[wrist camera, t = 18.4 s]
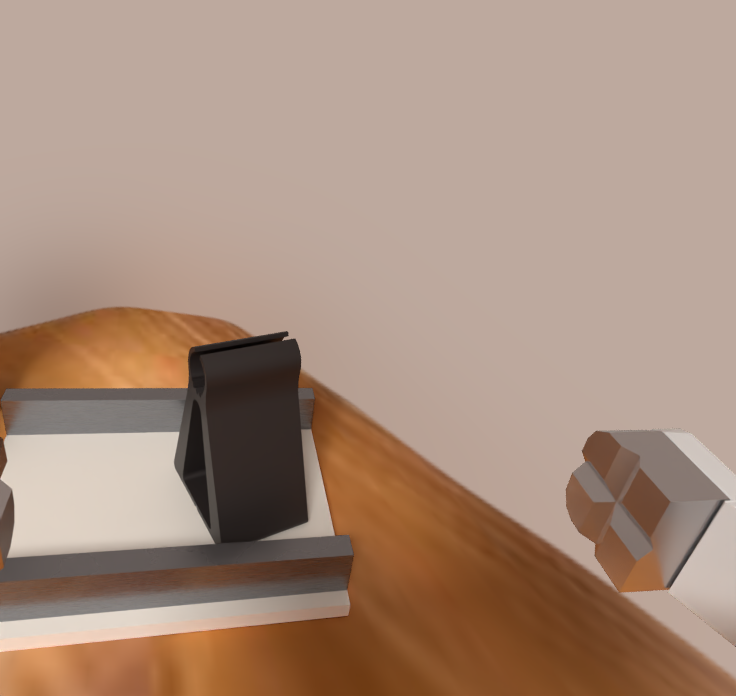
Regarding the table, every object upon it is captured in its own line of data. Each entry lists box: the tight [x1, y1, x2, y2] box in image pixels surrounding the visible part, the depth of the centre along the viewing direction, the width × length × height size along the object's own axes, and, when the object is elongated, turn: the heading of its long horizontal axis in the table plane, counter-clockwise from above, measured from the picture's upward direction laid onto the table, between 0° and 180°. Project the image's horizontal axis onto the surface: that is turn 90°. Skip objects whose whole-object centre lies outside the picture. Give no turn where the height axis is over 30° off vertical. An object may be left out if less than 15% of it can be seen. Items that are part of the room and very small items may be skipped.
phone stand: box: [174, 331, 308, 544], centre depth 38 cm, size 9×6×12 cm, turn 33°
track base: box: [0, 429, 350, 652], centre depth 40 cm, size 22×19×1 cm
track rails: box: [0, 388, 354, 622], centre depth 39 cm, size 22×17×3 cm
